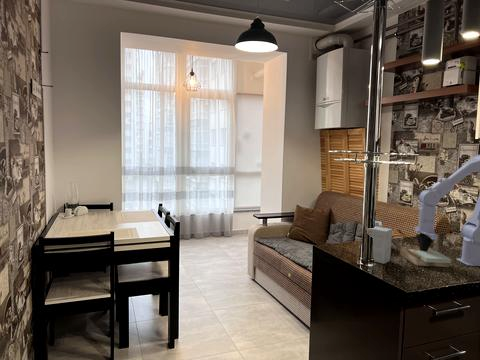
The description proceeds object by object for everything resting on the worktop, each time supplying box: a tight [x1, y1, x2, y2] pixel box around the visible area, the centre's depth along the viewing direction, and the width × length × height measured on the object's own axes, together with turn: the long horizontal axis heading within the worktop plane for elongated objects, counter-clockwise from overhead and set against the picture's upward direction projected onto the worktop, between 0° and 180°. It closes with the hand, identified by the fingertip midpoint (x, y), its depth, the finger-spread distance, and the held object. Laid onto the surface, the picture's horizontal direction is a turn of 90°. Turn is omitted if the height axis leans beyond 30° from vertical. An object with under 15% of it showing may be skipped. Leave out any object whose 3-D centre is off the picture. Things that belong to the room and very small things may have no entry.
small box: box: [366, 226, 393, 265], centre depth 144 cm, size 8×6×13 cm
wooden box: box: [399, 246, 451, 268], centre depth 147 cm, size 13×14×4 cm
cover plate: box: [414, 251, 452, 264], centre depth 142 cm, size 9×10×2 cm
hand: (423, 252), depth 147 cm, fingers closed
